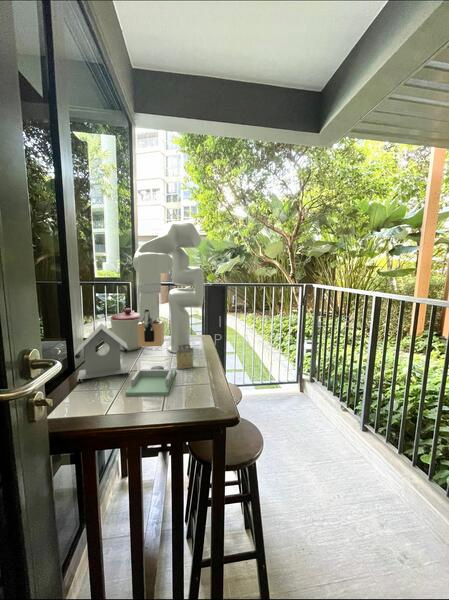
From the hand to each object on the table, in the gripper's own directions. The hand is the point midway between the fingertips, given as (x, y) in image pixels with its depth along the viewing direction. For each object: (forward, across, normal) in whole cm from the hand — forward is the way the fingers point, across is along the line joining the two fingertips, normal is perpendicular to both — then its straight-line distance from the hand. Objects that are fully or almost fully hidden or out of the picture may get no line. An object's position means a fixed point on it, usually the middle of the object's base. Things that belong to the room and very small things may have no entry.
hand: (151, 338), depth 97 cm
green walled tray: (+17, -2, 0) cm, 17 cm away
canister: (+18, -44, -22) cm, 52 cm away
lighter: (+18, -16, +10) cm, 26 cm away
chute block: (+2, 0, 0) cm, 2 cm away
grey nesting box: (+18, -8, -21) cm, 29 cm away
